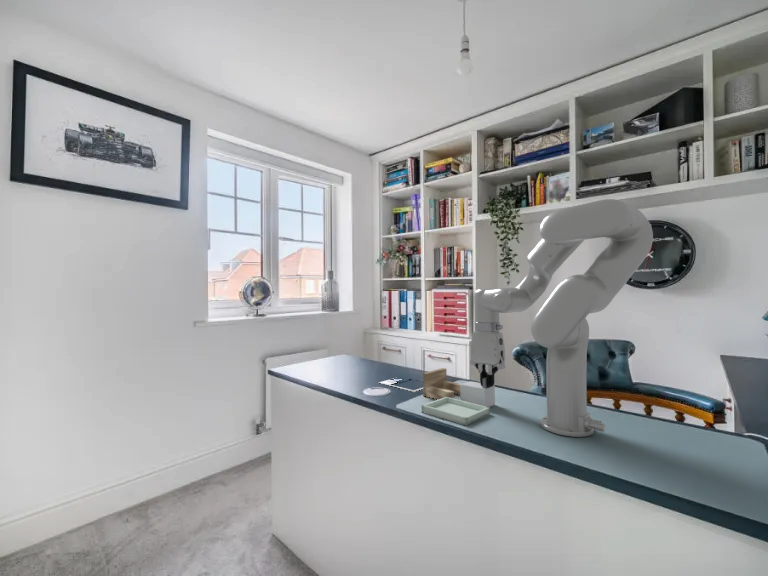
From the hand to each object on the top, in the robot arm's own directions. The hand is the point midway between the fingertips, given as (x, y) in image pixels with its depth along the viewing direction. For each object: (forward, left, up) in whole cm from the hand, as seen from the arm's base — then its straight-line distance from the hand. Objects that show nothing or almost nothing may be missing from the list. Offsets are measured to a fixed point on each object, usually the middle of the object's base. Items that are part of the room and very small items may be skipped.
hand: (487, 385), depth 115 cm
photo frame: (+36, -3, -7) cm, 37 cm away
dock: (+15, 0, -7) cm, 16 cm away
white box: (+4, 0, -7) cm, 7 cm away
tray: (+3, +12, -7) cm, 15 cm away
